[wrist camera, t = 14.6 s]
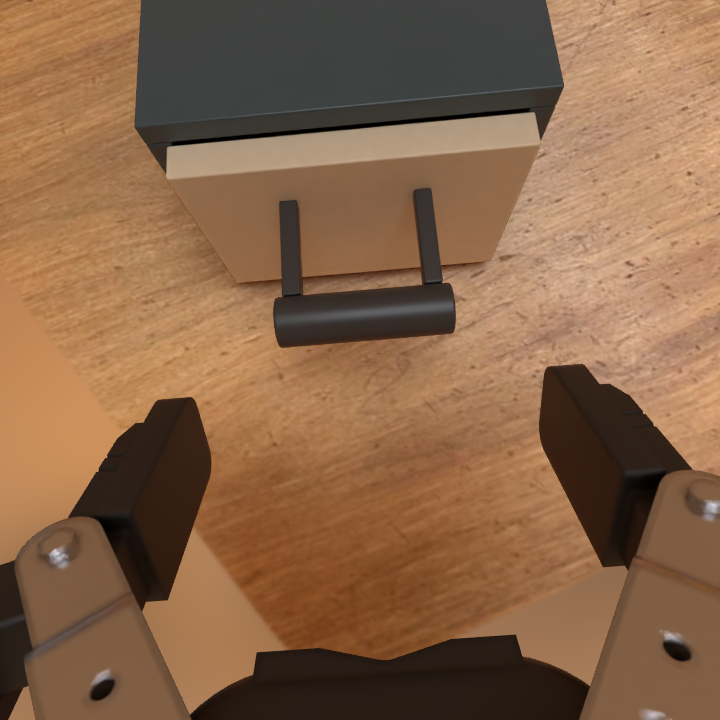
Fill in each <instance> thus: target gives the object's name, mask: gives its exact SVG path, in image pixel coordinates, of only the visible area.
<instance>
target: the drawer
mask: <svg viewBox="0 0 720 720" xmlns="http://www.w3.org/2000/svg"><path fill="white" fill-rule="evenodd" d="M495 112H496V111H492V112H481V113H471V114H460V115H450V116H439V117H429V118H418V119H408V120H397V121H386V122H376V123H365V124H355V125H344V126H334V127H323V128H313V129H302V130H291V131H281V132H270V133H260V134H249V135H239V136H228V137H217V138H207V139H205V140H206V142H207V143H202V144H191V145H180V146H170V147H167V165H166V179H167V181H168V183H169V184H170V185H171V187H172V188H173V190H174V191H175V193H176V194H177V196H178V197H179V199H180V200H181V202H182V203H183V205H184V206H185V208H186V209H187V211H188V212H189V213H190V215H191V216H192V218H193V219H194V221H195V222H196V224H197V225H198V227H199V228H200V230H201V231H202V233H203V234H204V236H205V237H206V238H207V240H208V241H209V243H210V244H211V246H212V247H213V249H214V250H215V252H216V253H217V255H218V256H219V258H220V259H221V261H222V262H223V263H224V265H225V266H226V268H227V269H228V271H229V272H230V274H231V275H232V277H233V278H234V280H235V281H236V282H237V283H242V282H253V281H265V280H276V279H282V295H283V297H278V298H276V299H275V302H274V308H273V317H274V328H275V334H276V338H277V342H278V344H279V346H280V347H282V348H286V347H298V346H311V345H323V344H335V343H347V342H359V341H371V340H383V339H395V338H407V337H419V336H431V335H443V334H452V333H453V332H454V330H455V323H456V310H455V299H454V293H453V289H452V286H451V284H450V283H442V282H443V277H442V269H441V265H449V264H461V263H473V262H484V261H491V259H492V257H493V254H494V252H495V250H496V247H497V245H498V243H499V240H500V238H501V236H502V233H503V231H504V229H505V226H506V224H507V222H508V219H509V217H510V215H511V213H512V210H513V208H514V206H515V203H516V201H517V199H518V196H519V194H520V192H521V189H522V187H523V185H524V182H525V180H526V178H527V175H528V173H529V171H530V168H531V166H532V164H533V161H534V159H535V157H536V155H537V152H538V150H539V148H540V145H541V142H540V137H539V131H538V126H537V121H536V116H535V113H534V112H530V113H519V114H509V115H498V116H495ZM415 267H421V276H422V285H417V286H405V287H394V288H382V289H370V290H359V291H347V292H335V293H324V294H312V295H303V281H302V277H311V276H323V275H334V274H346V273H357V272H369V271H380V270H392V269H403V268H415Z"/></svg>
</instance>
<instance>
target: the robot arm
mask: <svg viewBox="0 0 720 720" xmlns="http://www.w3.org/2000/svg"><path fill="white" fill-rule="evenodd" d="M539 433H540V439H541V443H542V447H543V449H544V451H545V453H546V455H547V457H548V459H549V461H550V463H551V465H552V467H553V469H554V471H555V473H556V475H557V477H558V479H559V481H560V483H561V485H562V487H563V489H564V491H565V493H566V495H567V497H568V499H569V501H570V503H571V505H572V507H573V509H574V511H575V513H576V515H577V517H578V518H579V520H580V522H581V524H582V526H583V528H584V530H585V532H586V534H587V536H588V538H589V540H590V542H591V544H592V546H593V548H594V550H595V552H596V554H597V556H598V558H599V560H600V562H601V564H602V566H603V567H612V566H626V568H627V570H628V574H627V577H626V580H625V583H624V586H623V589H622V592H621V595H620V599H619V602H618V604H617V607H616V610H615V613H614V616H613V619H612V622H611V626H610V628H609V631H608V634H607V637H606V641H605V644H604V647H603V649H602V652H601V655H600V659H599V662H598V664H597V667H596V671H595V673H594V677H593V680H592V683H591V686H589V685H588V684H586V683H585V682H583V681H582V680H580V679H578V678H577V677H575V676H573V675H571V674H570V673H568V672H566V671H564V670H562V669H560V668H557V667H555V666H553V665H550V664H548V663H545V662H541V661H538V660H535V659H532V658H527V657H523V656H522V654H521V651H520V647H519V644H518V641H517V637H516V635H505V636H504V635H503V636H489V637H475V638H460V639H450V640H447V641H444V642H442V643H439V644H436V645H433V646H430V647H427V648H424V649H421V650H418V651H415V652H412V653H409V654H406V655H403V656H401V657H398V658H395V659H391V660H377V659H372V658H367V657H362V656H357V655H352V654H347V653H342V652H337V651H332V650H327V649H322V648H314V649H300V650H285V651H271V652H258V653H257V655H256V661H255V667H254V673H253V675H252V676H249V677H246V678H244V679H241V680H239V681H237V682H235V683H233V684H231V685H229V686H227V687H226V688H224V689H222V690H221V691H219V692H218V693H216V694H214V695H213V696H212V697H211V698H209V699H208V700H207V701H205V702H204V703H203V704H201V705H200V706H199V707H198V708H197V709H196V710H195V711H194V712H193V713H191V714H190V715H189V712H188V710H187V708H186V706H185V704H184V702H183V700H182V697H181V695H180V693H179V691H178V689H177V687H176V685H175V682H174V680H173V678H172V676H171V674H170V672H169V669H168V667H167V665H166V663H165V661H164V659H163V656H162V654H161V652H160V650H159V648H158V646H157V644H156V641H155V639H154V637H153V635H152V633H151V631H150V628H149V626H148V624H147V622H146V620H145V618H144V616H143V613H142V610H143V608H144V605H145V603H146V602H150V601H163V600H168V598H169V595H170V592H171V589H172V586H173V583H174V580H175V577H176V574H177V572H178V569H179V566H180V563H181V560H182V557H183V554H184V551H185V548H186V545H187V542H188V539H189V536H190V533H191V531H192V528H193V525H194V522H195V519H196V516H197V513H198V510H199V507H200V504H201V501H202V498H203V495H204V492H205V490H206V487H207V484H208V481H209V478H210V474H211V453H210V449H209V445H208V442H207V438H206V435H205V431H204V428H203V425H202V421H201V418H200V414H199V411H198V407H197V404H196V402H195V400H194V399H193V398H192V397H186V398H174V399H162V400H157V401H156V402H155V404H154V405H153V407H152V409H151V411H150V412H149V414H148V416H147V417H146V419H145V421H144V423H135V424H134V425H133V426H132V427H130V428H129V429H128V430H127V431H126V432H125V433H123V434H122V435H121V436H120V437H119V438H117V440H116V442H115V443H114V445H113V447H112V448H111V450H110V451H109V453H108V454H107V456H108V457H107V458H105V459H104V461H103V462H102V464H101V466H100V467H99V472H96V474H95V475H94V477H93V478H92V480H91V482H90V483H89V485H88V487H87V488H86V490H85V491H84V493H83V494H82V496H81V497H80V499H79V501H78V502H77V504H76V505H75V507H74V509H73V510H72V512H71V514H70V515H69V517H68V518H67V519H64V520H61V521H58V522H56V523H54V524H51V525H50V526H48V527H46V528H44V529H43V530H41V531H40V532H38V533H37V534H35V535H34V536H33V537H32V538H31V539H30V540H29V541H28V542H26V544H25V545H24V546H23V547H22V548H21V550H20V552H19V553H18V555H17V558H16V559H15V560H14V561H11V562H9V563H6V564H3V565H0V720H8V719H9V717H10V715H11V712H12V710H13V708H14V706H15V704H16V702H17V700H18V698H19V695H20V693H21V691H22V689H23V688H24V687H26V686H29V690H30V694H31V699H32V705H33V709H34V714H35V719H36V720H720V476H717V475H714V474H711V473H707V472H702V471H696V470H693V469H692V468H691V467H690V466H689V465H688V463H687V462H686V461H685V460H684V459H683V458H682V456H681V455H680V454H679V453H678V452H677V451H676V449H675V448H674V447H673V446H672V445H671V444H670V442H669V441H668V440H667V439H666V438H665V437H664V435H663V434H662V433H661V432H660V431H659V429H658V428H657V427H654V426H653V422H652V421H651V420H650V419H649V418H648V417H647V415H646V414H643V411H642V410H641V408H640V407H639V406H638V405H637V404H636V403H635V401H634V400H633V399H632V398H631V397H630V396H629V395H627V394H626V393H624V392H622V391H621V390H619V389H617V388H616V387H614V386H612V385H611V384H599V383H598V382H597V380H596V379H595V378H594V376H593V375H592V374H591V373H590V371H589V370H588V369H587V368H586V366H585V365H583V364H574V365H562V366H550V367H547V368H546V370H545V373H544V380H543V390H542V400H541V409H540V419H539Z"/></svg>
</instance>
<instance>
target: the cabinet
mask: <svg viewBox="0 0 720 720" xmlns="http://www.w3.org/2000/svg"><path fill="white" fill-rule="evenodd" d="M563 88H564V82H563V78H562V73H561V69H560V64H559V59H558V55H557V50H556V45H555V41H554V36H553V32H552V27H551V22H550V18H549V13H548V8H547V4H546V0H141V16H140V35H139V53H138V71H137V90H136V108H135V129H136V130H137V132H138V133H139V135H140V136H141V138H142V139H143V141H144V142H145V143H146V144H147V146H148V148H149V149H150V151H151V152H152V154H153V155H154V157H155V158H156V160H157V161H158V163H159V164H160V166H161V167H162V169H163V170H164V172H165V173H166V165H167V147H170V146H180V145H191V144H202V143H207V142H206V140H205V139H207V138H217V137H228V136H239V135H249V134H260V133H270V132H281V131H291V130H302V129H313V128H323V127H334V126H344V125H355V124H365V123H376V122H386V121H397V120H408V119H418V118H429V117H439V116H450V115H460V114H471V113H481V112H492V111H496V112H495V116H498V115H509V114H519V113H530V112H534V113H535V116H536V121H537V126H538V131H539V137H540V141H541V139H542V137H543V134H544V132H545V130H546V127H547V125H548V123H549V120H550V118H551V116H552V113H553V111H554V109H555V105H556V104H557V102H558V99H559V97H560V95H561V92H562V90H563Z"/></svg>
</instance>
